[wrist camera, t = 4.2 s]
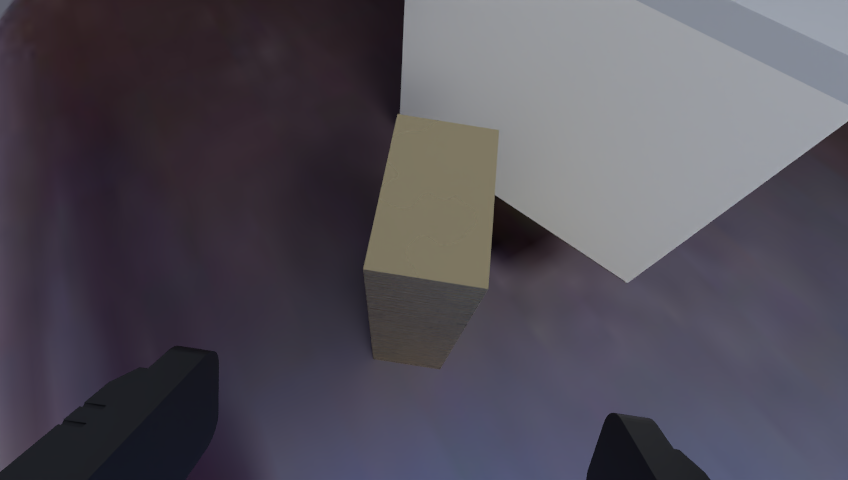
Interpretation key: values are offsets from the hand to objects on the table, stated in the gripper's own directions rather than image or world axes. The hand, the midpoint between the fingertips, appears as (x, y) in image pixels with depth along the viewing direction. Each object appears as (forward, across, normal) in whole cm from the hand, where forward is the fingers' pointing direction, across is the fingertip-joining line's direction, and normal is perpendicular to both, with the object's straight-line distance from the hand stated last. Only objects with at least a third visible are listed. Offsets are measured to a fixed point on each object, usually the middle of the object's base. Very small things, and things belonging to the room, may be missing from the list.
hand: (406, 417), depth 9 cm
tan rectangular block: (+11, 0, +3) cm, 11 cm away
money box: (+21, -8, -7) cm, 23 cm away
